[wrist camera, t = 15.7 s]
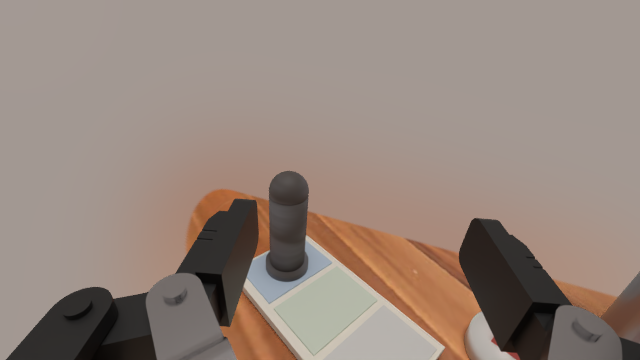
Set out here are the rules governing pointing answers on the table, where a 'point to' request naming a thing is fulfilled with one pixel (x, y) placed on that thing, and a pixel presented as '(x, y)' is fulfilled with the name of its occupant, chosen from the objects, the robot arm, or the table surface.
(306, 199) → the charcoal pawn
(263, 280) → the game board
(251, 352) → the table surface
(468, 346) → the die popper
